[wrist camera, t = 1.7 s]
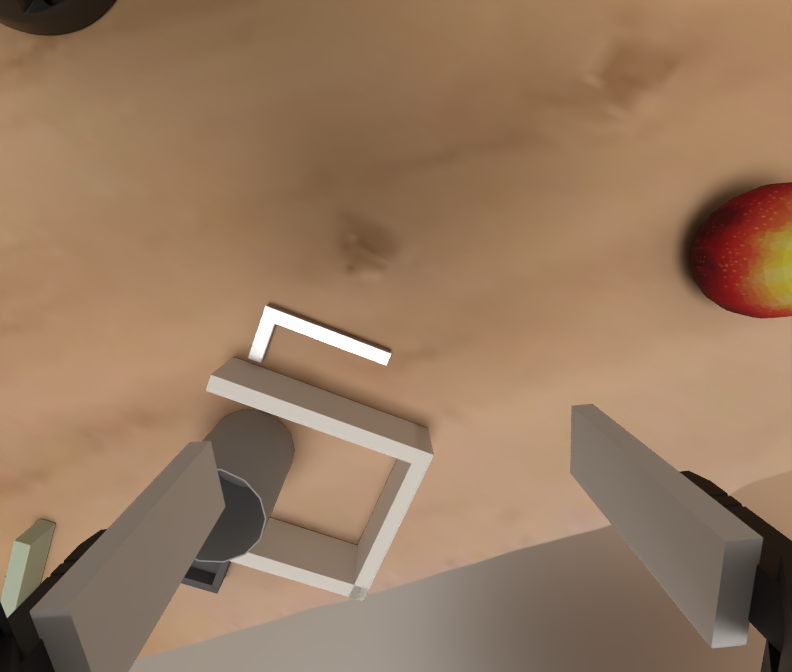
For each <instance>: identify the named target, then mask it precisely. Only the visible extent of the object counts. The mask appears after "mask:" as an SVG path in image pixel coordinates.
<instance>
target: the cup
mask: <svg viewBox="0 0 792 672" xmlns="http://www.w3.org/2000/svg"><path fill="white" fill-rule="evenodd" d="M203 441H211V444H212V448H213V453H214V457H215V462H216V466H217V471H218V475H219V480H220V484H221V489H222V493H223V498H224V502H225V508H224V510H223V512H222V513H221V515H220V517H219V518H218V520H217V522H216V523H215V525H214V527H213V529H212V530H211V532H210V534H209V535H208V537H207V539H206V541H205V542H204V544H203V546H202V547H201V549H200V551H199V552H198V554H197V556H196V558H195V559H194V560H197V561H200V562H222V563H224V562H226V561H229V560H232V559H235V558H238V557H241V556H244V555H246V554H247V553H248V552H249V551H250V550H251V549H252V548H253V547H254V546H255V545H256V544H257V543H258V542H259V541H260V540H261V538H262V536H263V533H264V531H265V528H266V526H267V523H268V521H269V518H270V516H271V513H272V511H273V508H274V506H275V503H276V501H277V498H278V496H279V493H280V491H281V488H282V486H283V483H284V481H285V478H286V476H287V473H288V471H289V468H290V465H291V462H292V458H293V455H294V451H295V450H294V445H293V441H292V436H291V433H290V432H289V431H288V430H287V429H286V427H285V426H284V425H283V424H282V422H281V421H280V420H279V419H277V418H275V417H273V416H271V415H269V414H267V413H265V412H263V411H256V410H240V411H237V412H235V413H232V414H229V415H227V416H225V417H224V418H223V419H222V420H221V421H220V422H219V423H218V424H217V425H216V426H215V427H214V428H213V430H212V431H211V432H210V433H209V434H208V435H207V436H206V437H205V439H204V440H203Z"/></svg>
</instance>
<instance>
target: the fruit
mask: <svg viewBox="0 0 792 672" xmlns="http://www.w3.org/2000/svg"><path fill="white" fill-rule="evenodd" d="M690 263H691V268H692V272H693V277H694V279H695V281H696V283H697V284H698V286H699V288H700V289H701V291H702V292H703V294H704V295H705V296H706V297H707V298H709V299H710V300H712V301H713V302H715V303H716V304H717V305H719V306H720V307H722V308H724V309H725V310H727V311H731V312H734V313H738V314H742V315H746V316H750V317H755V318H776V317H787V316H792V182H790V183H778V184H769V185H765V186H761V187H759V188H756V189H754V190H751V191H749V192H747V193H744V194H742V195H739V196H737V197H735V198H733V199H731V200H730V201H728V202H727V203H726V204H724V205H723V206H722V207H721V208H719V209H718V210H717V211H715V212H714V213H713V214H712V215H711V216H710V217H709V218H708V220H707V221H706V222H705V224H704V225H703V226H702V228H701V229H700V230H699V232H698V234H697V236H696V239H695V241H694V244H693V246H692V252H691V262H690Z"/></svg>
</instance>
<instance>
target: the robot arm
mask: <svg viewBox="0 0 792 672" xmlns="http://www.w3.org/2000/svg"><path fill="white" fill-rule="evenodd" d="M113 2H114V0H0V23H1V24H3V25H6V26H8V27H10V28H13V29H16V30H19V31H22V32H27V33H31V34H38V35H58V34H64V33H69V32H73V31H76V30H78V29H81V28H83V27H85V26H87V25H89V24H90V23H92V22H94V21H95V20H96V19H98V18H99V17H100V16H101V15H102V14H103V13H104V12H105V11H106V10H107V9H108V8H109V7H110V6H111V4H112V3H113ZM570 473H571V474H572V476H573V477H574V478H575V479H576V481H577V482H578V483H579V484H580V486H581V487H582V488H583V489H584V491H585V492H586V493H587V494H588V495H589V497H590V498H591V499H592V500H593V502H594V503H595V504H596V505H597V507H598V508H599V509H600V510H601V512H602V513H603V514H604V515H605V517H606V518H607V519H608V520H609V522H610V523H611V524H612V525H613V527H614V528H615V529H616V530H617V531H618V533H619V534H620V535H621V537H622V538H623V539H624V540H625V541H626V543H627V544H628V545H629V546H630V548H631V549H632V550H633V551H634V553H635V554H636V555H637V556H638V557H639V559H640V560H641V561H642V563H643V564H644V565H645V566H646V568H647V569H648V570H649V571H650V573H651V574H652V575H653V576H654V578H655V579H656V580H657V581H658V583H659V584H660V585H661V586H662V587H663V589H664V590H665V591H666V592H667V594H668V595H669V596H670V597H671V599H672V600H673V601H674V602H675V603H676V605H677V606H678V607H679V609H680V610H681V611H682V612H683V614H684V615H685V616H686V617H687V619H688V620H689V621H690V622H691V624H692V625H693V626H694V627H695V629H696V630H697V631H698V632H699V634H700V635H701V636H702V637H703V639H704V640H705V641H706V642H707V644H708V645H709V646H710V647H711V648H718V647H728V646H738V645H746V642H747V635H748V629H749V623H752V625H753V626H754V627H755V628H757V630H758V631H759V632H760V633H761V634H762V635H763V636H764V637H765V638H766V645H765V650H764V656H763V662H762V667H761V672H792V541H791V540H790V539H788V538H787V537H786V536H784V535H783V534H782V533H780V532H779V531H777V530H776V529H775V528H774V527H772V526H771V525H769V524H768V523H766V522H765V521H764V520H763V519H761V518H760V517H759V516H757V515H756V514H755V513H753V512H752V511H750V510H749V509H748V508H746V507H743V506H742V504H741V503H740V502H738V501H737V500H735V499H734V498H733V497H731V496H728V495H727V493H726V492H725V491H723V490H722V489H721V488H719V487H718V486H717V485H715V484H714V483H712V482H711V481H709V480H707V479H705V478H703V477H701V476H699V475H696V474H694V473H692V472H690V471H682V472H679V471H677V470H676V469H675V468H674V467H672V466H671V465H670V464H668V463H667V462H666V461H665V460H663V459H662V458H661V457H660V456H658V455H657V454H656V453H654V452H653V451H652V450H651V449H649V448H648V447H647V446H646V445H644V444H643V443H642V442H640V441H639V440H638V439H637V438H635V437H634V436H633V435H632V434H630V433H629V432H628V431H626V430H625V429H624V428H623V427H621V426H620V425H619V424H617V423H616V422H615V421H614V420H612V419H611V418H610V417H609V416H607V415H606V414H605V413H603V412H602V411H601V410H600V409H598V408H597V407H596V406H595V405H593V404H586V405H576V406H572V415H571V462H570ZM224 508H225V502H224V498H223V493H222V489H221V484H220V480H219V475H218V471H217V466H216V462H215V457H214V453H213V448H212V444H211V441H201V442H190V443H189V444H188V445H187V446H186V447H185V448H184V449H183V450H182V451H181V452H180V453H179V454H178V455H177V456H176V457H175V458H174V459H173V460H172V462H171V463H170V464H169V465H168V466H167V467H166V468H165V469H164V470H163V471H162V472H161V473H160V474H159V475H158V476H157V477H156V478H155V479H154V481H153V482H152V483H151V484H150V485H149V486H148V487H147V488H146V489H145V490H144V491H143V492H142V493H141V494H140V495H139V496H138V497H137V498H136V499H135V501H134V502H133V503H132V504H131V505H130V506H129V507H128V508H127V509H126V510H125V511H124V512H123V513H122V514H121V515H120V516H119V517H118V518H117V520H116V521H115V522H114V523H113V524H112V525H111V526H110V527H109V528H108V529H105V530H100V531H99V532H97V533H96V534H94V535H93V536H91V537H90V538H89V539H87V540H86V541H84V542H83V543H81V544H80V545H79V546H78V547H77V548H76V549H75V550H74V551H73V552H72V553H71V554H70V555H69V556H68V557H67V558H66V559H65V560H64V563H63V564H60V565H59V566H58V567H57V568H56V569H55V570H54V571H53V572H52V573H51V576H50V577H47V578H46V579H45V580H44V581H43V582H42V583H41V584H40V585H39V586H38V587H37V588H36V589H35V590H34V591H33V592H32V593H31V594H30V595H29V596H28V597H27V598H26V599H25V600H24V601H23V602H22V603H21V604H20V605H19V606H18V608H17V609H16V610H15V611H14V612H13V613H12V614H11V615H10V616H9V617H8V618H7V616H6V614H5V612H4V609H3V607H2V604H1V602H0V672H129V670H130V668H131V667H132V665H133V663H134V661H135V660H136V658H137V656H138V655H139V653H140V651H141V650H142V648H143V646H144V644H145V643H146V641H147V639H148V638H149V636H150V634H151V633H152V631H153V629H154V627H155V626H156V624H157V622H158V621H159V619H160V617H161V616H162V614H163V612H164V610H165V609H166V607H167V605H168V604H169V602H170V600H171V598H172V597H173V595H174V593H175V592H176V590H177V588H178V587H179V585H180V583H181V581H182V580H183V578H184V576H185V575H186V573H187V571H188V569H189V568H190V566H191V564H192V563H193V561H194V559H195V558H196V556H197V554H198V552H199V551H200V549H201V547H202V546H203V544H204V542H205V541H206V539H207V537H208V535H209V534H210V532H211V530H212V529H213V527H214V525H215V523H216V522H217V520H218V518H219V517H220V515H221V513H222V512H223V510H224Z"/></svg>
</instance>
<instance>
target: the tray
mask: <svg viewBox="0 0 792 672" xmlns="http://www.w3.org/2000/svg"><path fill="white" fill-rule="evenodd" d="M230 562H231V561H226V562H224V563H222V562H200V561H197V560H194V561H193V563H192V564H191V566H190V568H189V569H188V571H187V573H186V575H185V576H184V578H183V580H182V581H181V583H183V584H186V585H189V586H193V587H196V588H200V589H203V590H207V591H210V592H213V593H218V591H219V589H220V586H221V584H222V582H223V580H224V578H225V575H226V573H227V570H228V567H229V565H230Z"/></svg>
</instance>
